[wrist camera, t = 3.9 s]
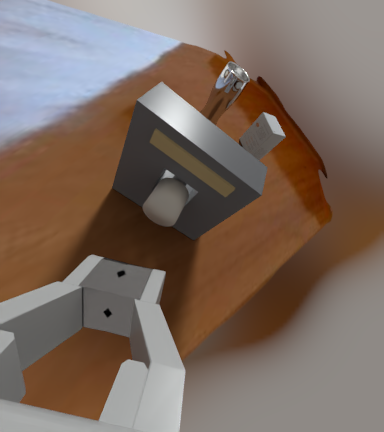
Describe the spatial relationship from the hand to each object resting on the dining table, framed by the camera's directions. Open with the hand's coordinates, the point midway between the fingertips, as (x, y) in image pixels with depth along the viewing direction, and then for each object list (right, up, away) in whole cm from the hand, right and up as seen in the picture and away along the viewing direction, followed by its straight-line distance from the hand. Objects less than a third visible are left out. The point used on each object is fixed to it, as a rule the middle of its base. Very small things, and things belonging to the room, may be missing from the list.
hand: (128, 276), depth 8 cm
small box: (+21, +24, +56) cm, 64 cm away
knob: (-1, +6, +24) cm, 25 cm away
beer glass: (+7, +31, +51) cm, 60 cm away
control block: (-3, +5, +31) cm, 31 cm away
